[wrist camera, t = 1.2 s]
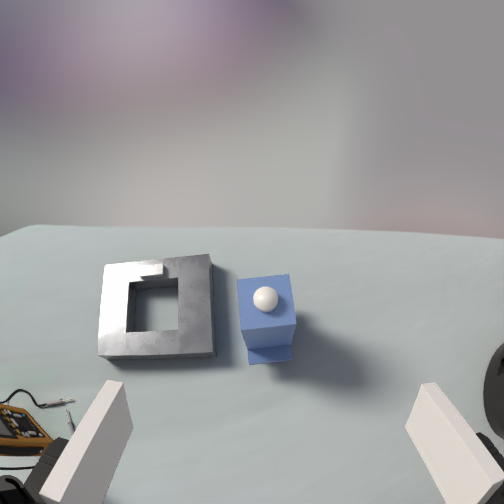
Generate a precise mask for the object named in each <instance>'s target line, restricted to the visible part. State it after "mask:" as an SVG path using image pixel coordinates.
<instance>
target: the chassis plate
mask: <svg viewBox="0 0 504 504" xmlns="http://www.w3.org/2000/svg"><path fill="white" fill-rule="evenodd" d="M175 286H178V330H169V331H150V332H134V322H135V301H136V290H141V289H153V288H164V287H175ZM98 356H100V357H103V358H105V359H107V360H142V359H176V358H196V357H212V356H217V355H216V338H215V320H214V300H213V276H212V262H211V259H210V256H209V254H203V255H194V256H185V257H175V258H166V259H157V260H148V261H139V262H129V263H120V264H111V265H105V273H104V281H103V290H102V300H101V310H100V323H99V337H98Z"/></svg>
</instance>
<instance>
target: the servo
mask: <svg viewBox="0 0 504 504" xmlns="http://www.w3.org/2000/svg"><path fill="white" fill-rule="evenodd" d="M237 287H238V300H239V312H240V324H241V332H242V335H243V338H244V340H245V343H246V346H247V349H248V360H249V365H255V364H264V363H274V362H282V361H290V360H293V356H292V349H291V343H292V339H293V336H294V332H295V328H296V324H297V323H296V316H295V310H294V303H293V296H292V290H291V283H290V277H289V274H285V275H276V276H267V277H258V278H249V279H239V280H237Z"/></svg>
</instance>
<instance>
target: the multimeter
mask: <svg viewBox="0 0 504 504" xmlns="http://www.w3.org/2000/svg"><path fill="white" fill-rule="evenodd" d="M17 391H24V392H26V393H28V394H29V395H30V397H31V399H32V400H33V402H34V404H35V405H36V406H39V407H40V406H46V405H54V404H59V403H63V401H68V400H72V399H73V398H70V399H66V400H62V399H60V400H56V401H51V402H48V403H46V404H42V405H37V404H36V403H35V401H34V399H33V397H32V396H31V394H30V393H29V392H27V391H25V390H23V389H18V390H16V391H14V392H13V393H12V394H11V395H10V396H9V397H8V399H7V400H5V401H3V402H0V456H42V455H43V453H44V451H45V450H46V448H47V446H48V445H49V444H50V443H51V442H53V440H52V439H51V437H49V436H48V435H47V434H46V433H45V432H44V431H43V430H42V428H41V427H40V426H39V425H38V424H37V423H36V422H35V421H34V420H33V418H32V417H31V416H30V414H29V413H28V412H27V411H26V410H25V409H22V408H17V407H12V406H8V405H4V404H1V403H5V402H7V401H8V400H9V399H10V398H11V397H12V395H13V394H15V393H16V392H17ZM66 414H67V417H68V420H69V422H68V424H69V427H70V430H71V433H72V435H73V434H74V429H73V425H72V422H70V419H69V416H68V412H67V410H66ZM34 467H35V466H31V467H17V468H4V467H0V470H23V469H33V468H34Z"/></svg>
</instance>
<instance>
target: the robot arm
mask: <svg viewBox="0 0 504 504" xmlns="http://www.w3.org/2000/svg"><path fill="white" fill-rule="evenodd" d="M484 407H485V413H486V416H487V419H488V422H489V424H490V426H491V428H492V429H493V431H494V432H495V433H496V434H497V435H498V436H500V437H501V438H503V439H504V343H503V344H502V345H501V346H500V347H499V348H498V349H497V351H496V352H495V354H494V355H493V357H492V359H491V361H490V363H489V366H488V369H487V372H486V377H485V382H484ZM405 428H406V430H407V432H408V433H409V435H410V437H411V439H412V441H413V442H414V444H415V446H416V448H417V450H418V451H419V453H420V455H421V457H422V459H423V461H424V462H425V464H426V466H427V468H428V470H429V472H430V474H431V475H432V477H433V479H434V481H435V483H436V485H437V487H438V489H439V491H440V493H441V494H442V496H443V498H444V500H445V502H446V504H504V457H503V456H502V455H501V454H500V453H499V451H498V450H497V448H496V447H494V444H493V443H492V442H491V440H490V439H489V438H488V437H486V436H485V435H483V434H482V433H480V432H479V433H476V434H475V433H474V431H473V430H472V429H471V427H470V426H469V425H468V423H467V422H466V421H465V420H464V418H463V417H462V416H461V414H460V413H459V412H458V411H457V409H456V408H455V407H454V406H453V404H452V403H451V402H450V400H449V399H448V398H447V397H446V396H445V394H444V393H443V392H442V391H441V389H440V388H439V387H438V386H437V384H436V383H435V382H433V383H427V384H422V385H421V388H420V390H419V393H418V396H417V399H416V401H415V404H414V406H413V409H412V411H411V414H410V416H409V419H408V421H407V424H406V426H405ZM132 429H133V424H132V420H131V416H130V412H129V408H128V403H127V399H126V394H125V389H124V384H123V383H122V382H116V381H111V380H107V381H106V383H105V384H104V386H103V387H102V389H101V390H100V392H99V394H98V395H97V397H96V398H95V400H94V401H93V403H92V405H91V406H90V408H89V409H88V411H87V413H86V414H85V416H84V417H83V419H82V421H81V422H80V424H79V426H78V427H77V429H76V430H75V432H74V434H73V435H72V437H71V439H70V440H66V439H63V438H60V437H58V438H57V439H55V440H54V441H53V442H51V443H50V444H49V445H48V446H47V448H46V450H45V451H44V453H43V455H42V456H41V457H40V459H39V462H37V464H36V465H35V467H34V469H33V470H32V472H31V473H30V475H29V477H28V478H27V480H26V481H25V483H24V485H23V483H22V482H21V481H20V480H19V479H18V478H16V477H14V476H11V475H3V476H0V504H102V503H103V501H104V498H105V496H106V493H107V491H108V488H109V486H110V483H111V481H112V478H113V476H114V473H115V471H116V468H117V466H118V463H119V461H120V458H121V456H122V453H123V451H124V449H125V446H126V444H127V441H128V439H129V437H130V434H131V432H132Z"/></svg>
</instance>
